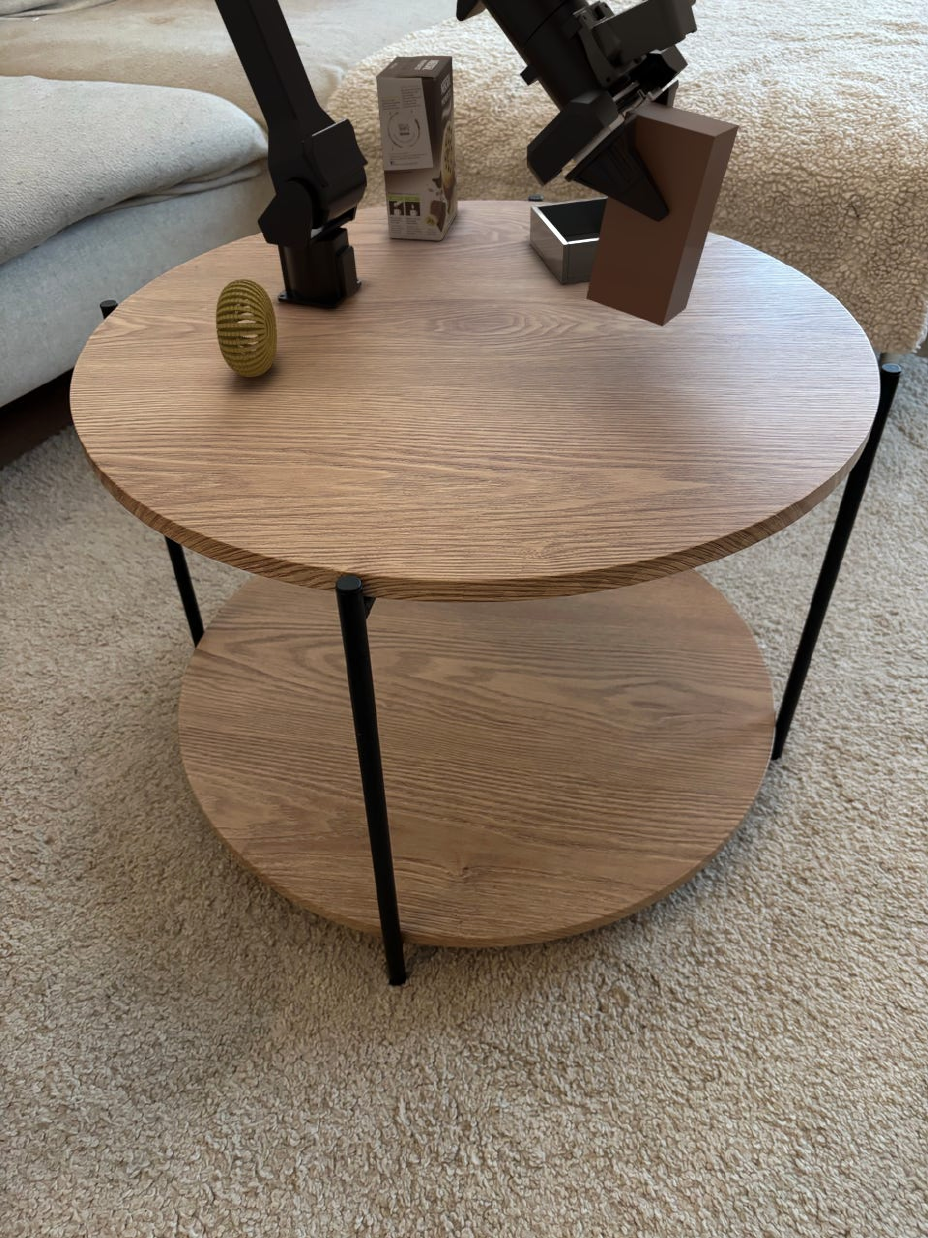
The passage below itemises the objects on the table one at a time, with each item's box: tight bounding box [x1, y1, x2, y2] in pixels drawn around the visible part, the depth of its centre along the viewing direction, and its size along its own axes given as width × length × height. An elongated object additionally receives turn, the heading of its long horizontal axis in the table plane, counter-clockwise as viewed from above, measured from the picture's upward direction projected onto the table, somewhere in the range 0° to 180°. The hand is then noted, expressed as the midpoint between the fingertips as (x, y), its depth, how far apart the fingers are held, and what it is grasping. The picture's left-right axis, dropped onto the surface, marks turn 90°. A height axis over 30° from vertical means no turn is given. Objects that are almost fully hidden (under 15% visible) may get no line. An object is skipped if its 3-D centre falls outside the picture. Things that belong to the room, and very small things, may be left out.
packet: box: [585, 102, 740, 327], centre depth 71 cm, size 7×5×14 cm
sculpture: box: [215, 278, 278, 378], centre depth 77 cm, size 8×4×8 cm, turn 179°
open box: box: [529, 195, 608, 285], centre depth 95 cm, size 11×11×4 cm
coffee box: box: [375, 55, 459, 242], centre depth 98 cm, size 9×6×16 cm
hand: (676, 204), depth 69 cm, fingers closed on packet, 5 cm apart
